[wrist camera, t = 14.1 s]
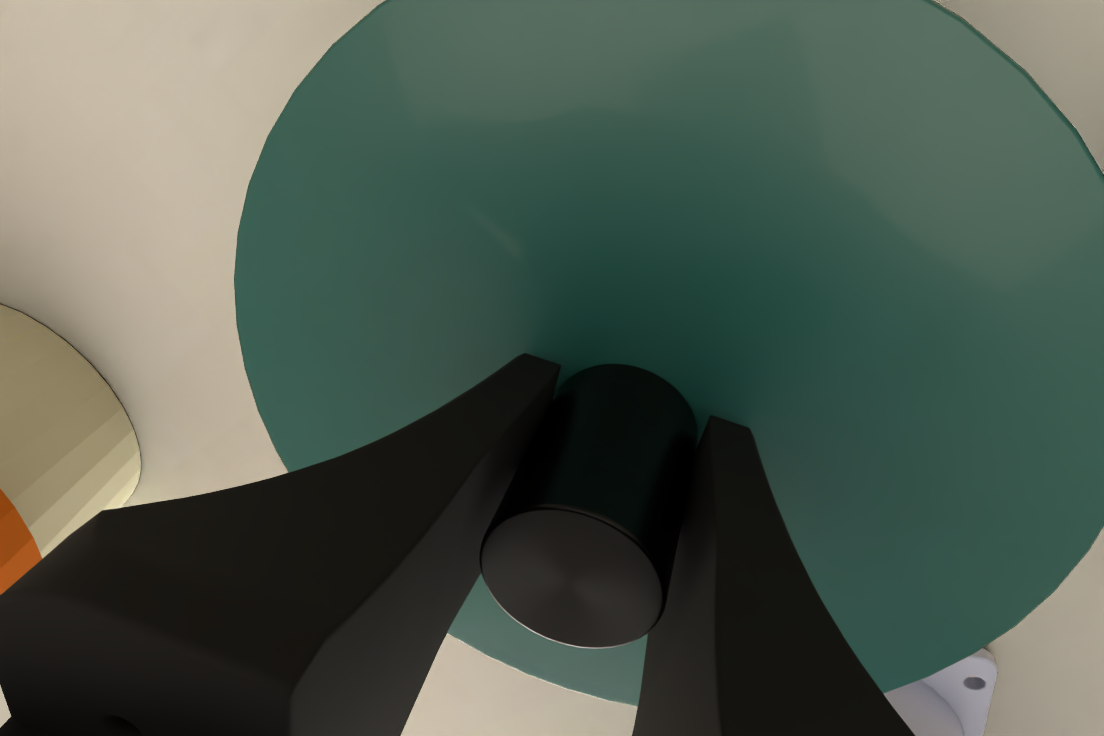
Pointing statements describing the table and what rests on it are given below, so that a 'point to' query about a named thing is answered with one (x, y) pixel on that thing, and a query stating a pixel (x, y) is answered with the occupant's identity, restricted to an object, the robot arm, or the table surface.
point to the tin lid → (700, 302)
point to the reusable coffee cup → (55, 444)
